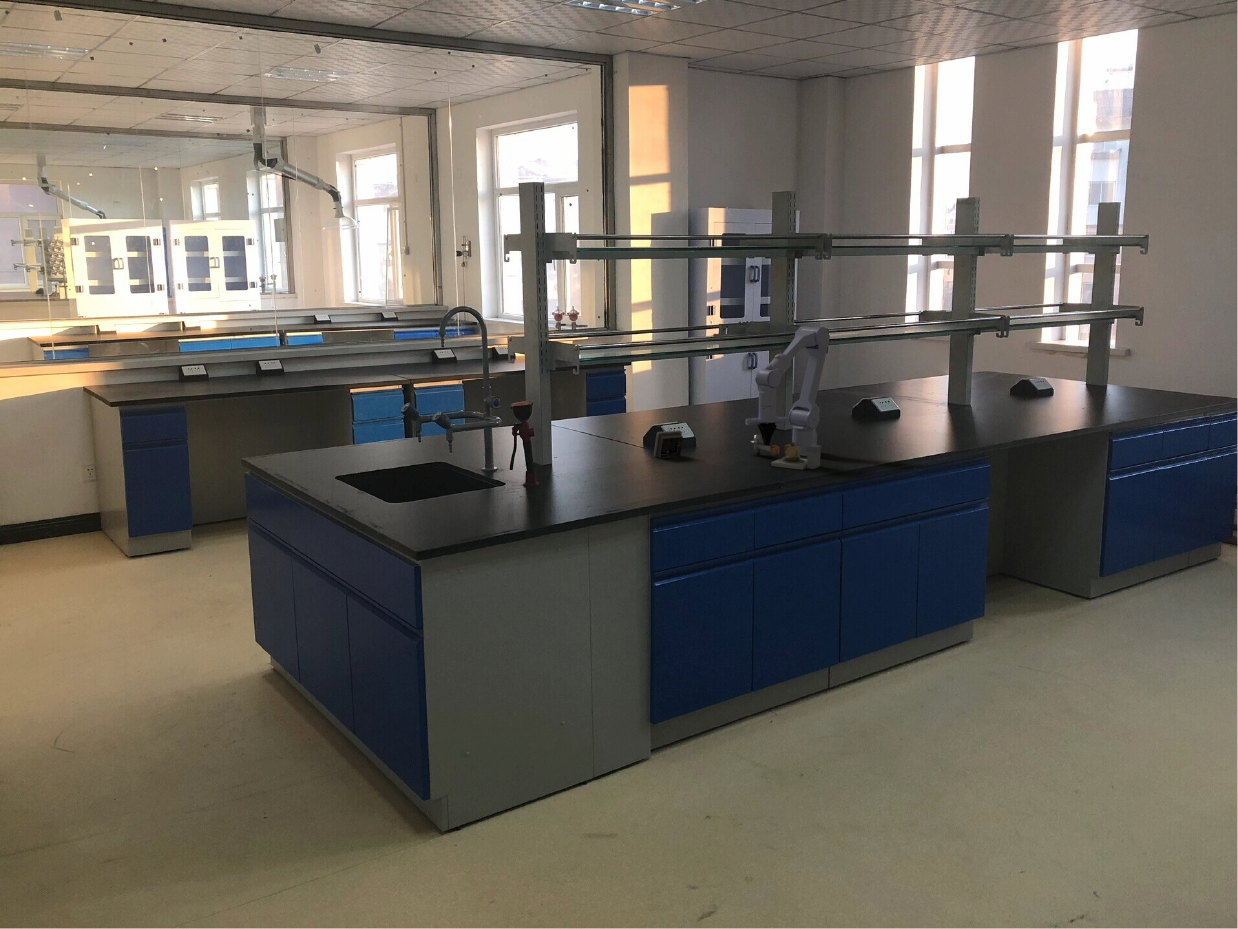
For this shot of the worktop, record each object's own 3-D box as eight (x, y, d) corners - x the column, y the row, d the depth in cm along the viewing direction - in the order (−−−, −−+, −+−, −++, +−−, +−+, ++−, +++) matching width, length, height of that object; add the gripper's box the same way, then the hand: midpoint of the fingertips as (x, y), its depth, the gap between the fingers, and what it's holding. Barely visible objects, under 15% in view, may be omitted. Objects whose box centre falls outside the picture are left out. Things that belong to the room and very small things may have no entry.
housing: (787, 458, 340) (787, 440, 338) (801, 459, 337) (802, 441, 336) (782, 461, 335) (783, 443, 334) (797, 462, 333) (797, 444, 332)
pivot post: (753, 453, 355) (754, 433, 354) (766, 454, 352) (767, 434, 351) (747, 455, 351) (747, 435, 349) (760, 457, 348) (761, 437, 347)
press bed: (785, 459, 344) (786, 439, 342) (824, 464, 336) (825, 443, 335) (771, 465, 335) (771, 444, 333) (811, 470, 327) (812, 449, 326)
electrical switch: (677, 454, 353) (678, 428, 351) (684, 458, 349) (685, 432, 346) (653, 457, 350) (654, 430, 347) (659, 461, 345) (660, 434, 343)
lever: (755, 451, 349) (756, 441, 348) (764, 450, 351) (764, 440, 350) (772, 457, 340) (773, 446, 339) (781, 456, 342) (782, 445, 341)
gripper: (750, 408, 333) (749, 448, 336) (792, 406, 336) (791, 446, 339) (743, 404, 340) (743, 444, 343) (784, 402, 343) (783, 442, 346)
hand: (766, 445), depth 342 cm, fingers closed
